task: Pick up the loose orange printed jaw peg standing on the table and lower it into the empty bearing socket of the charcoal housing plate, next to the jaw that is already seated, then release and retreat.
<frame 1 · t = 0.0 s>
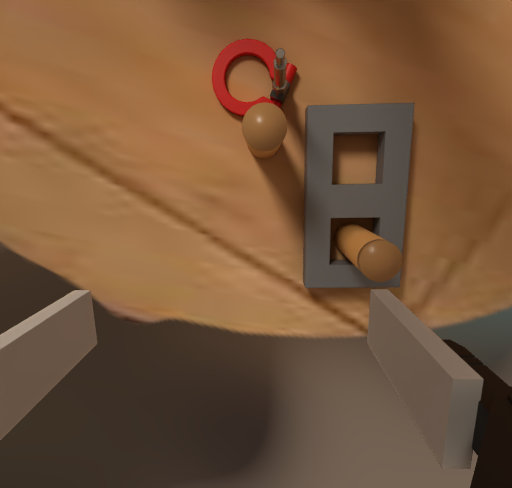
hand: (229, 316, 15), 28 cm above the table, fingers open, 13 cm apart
jaw peg: (263, 141, 40), on the table
housing: (350, 199, 41), on the table
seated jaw: (349, 237, 42), resting in housing
tow hook: (250, 82, 39), on the table
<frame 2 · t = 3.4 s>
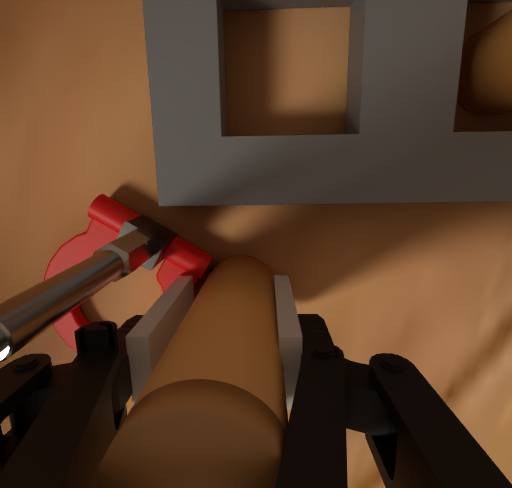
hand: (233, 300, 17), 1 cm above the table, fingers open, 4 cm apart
jaw peg: (241, 289, 18), on the table, touching gripper
housing: (389, 74, 16), on the table
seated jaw: (493, 72, 15), resting in housing
tow hook: (129, 289, 19), on the table, touching gripper
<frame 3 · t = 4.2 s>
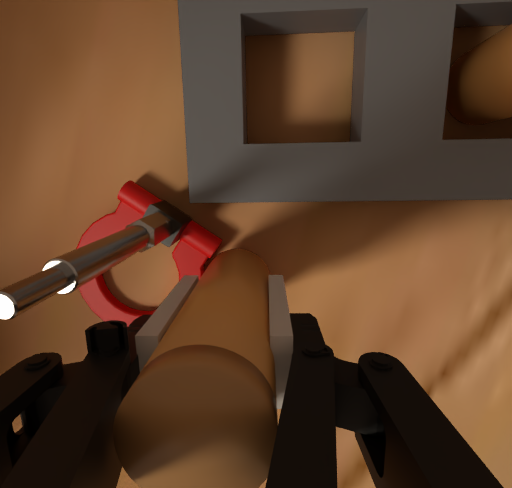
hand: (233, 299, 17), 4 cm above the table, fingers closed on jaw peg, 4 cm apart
jaw peg: (237, 280, 19), point 1 cm above the table, touching gripper
housing: (388, 89, 18), on the table
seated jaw: (480, 86, 18), resting in housing
tow hook: (147, 265, 21), on the table
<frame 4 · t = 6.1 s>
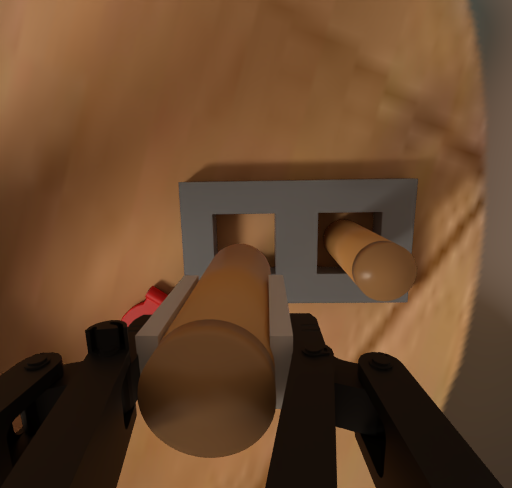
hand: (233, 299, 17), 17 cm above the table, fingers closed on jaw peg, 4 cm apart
jaw peg: (240, 273, 21), point 13 cm above the table, touching gripper
housing: (294, 239, 33), on the table
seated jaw: (342, 238, 33), resting in housing
tow hook: (160, 330, 36), on the table
when the fingers open (3 cm above the table, at t = 8.7 s): jaw peg stays where it is, resting in housing.
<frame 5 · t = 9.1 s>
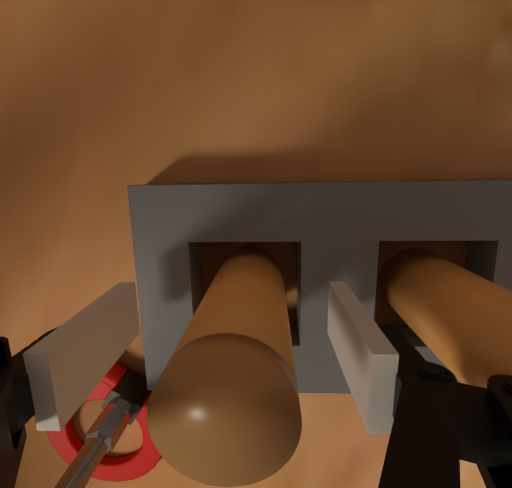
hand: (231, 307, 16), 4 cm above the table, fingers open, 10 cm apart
jaw peg: (251, 277, 20), resting in housing
housing: (329, 280, 20), on the table
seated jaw: (412, 280, 20), resting in housing
tow hook: (115, 417, 23), on the table
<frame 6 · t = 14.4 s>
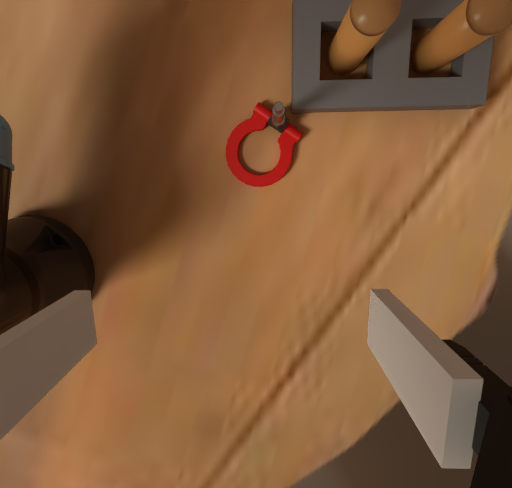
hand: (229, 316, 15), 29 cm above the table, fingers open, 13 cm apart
jaw peg: (343, 56, 38), resting in housing
housing: (384, 57, 38), on the table
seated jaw: (426, 56, 38), resting in housing
tow hook: (261, 150, 41), on the table
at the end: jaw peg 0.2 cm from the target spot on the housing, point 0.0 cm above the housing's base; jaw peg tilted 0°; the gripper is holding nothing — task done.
